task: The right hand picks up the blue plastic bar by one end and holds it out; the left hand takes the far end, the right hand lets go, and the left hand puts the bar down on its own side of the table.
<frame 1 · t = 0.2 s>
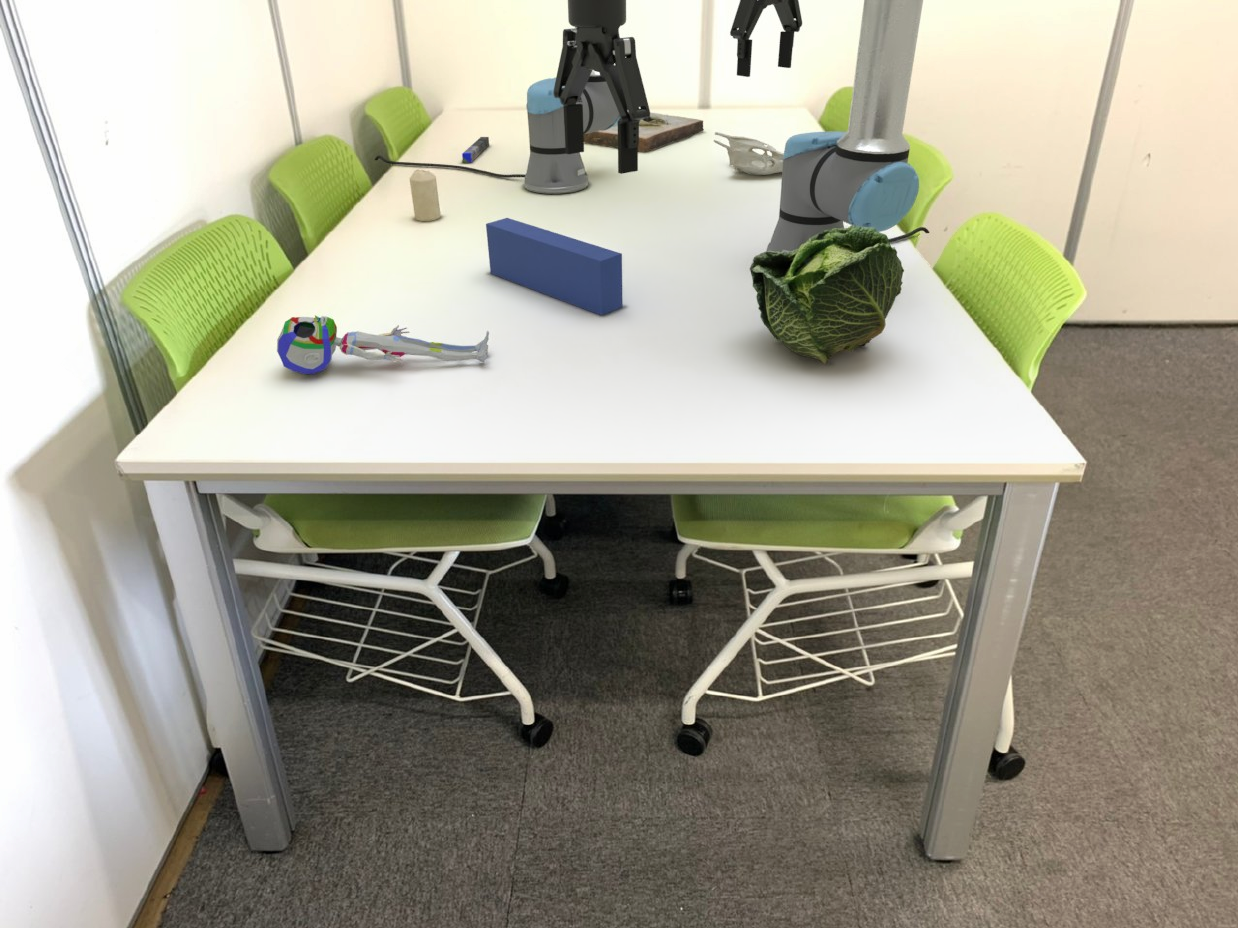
left hand: (764, 71, 179), 29 cm above the table, tool pointing down, fingers open, 13 cm apart
right hand: (600, 162, 126), 27 cm above the table, tool pointing down, fingers open, 13 cm apart
candle: (428, 218, 195), on the table
bar: (553, 289, 158), on the table
plaque: (633, 136, 259), on the table
anatomical model: (763, 173, 223), on the table
toy: (388, 365, 133), on the table
vegetable: (821, 349, 136), on the table
pillar: (476, 154, 243), on the table
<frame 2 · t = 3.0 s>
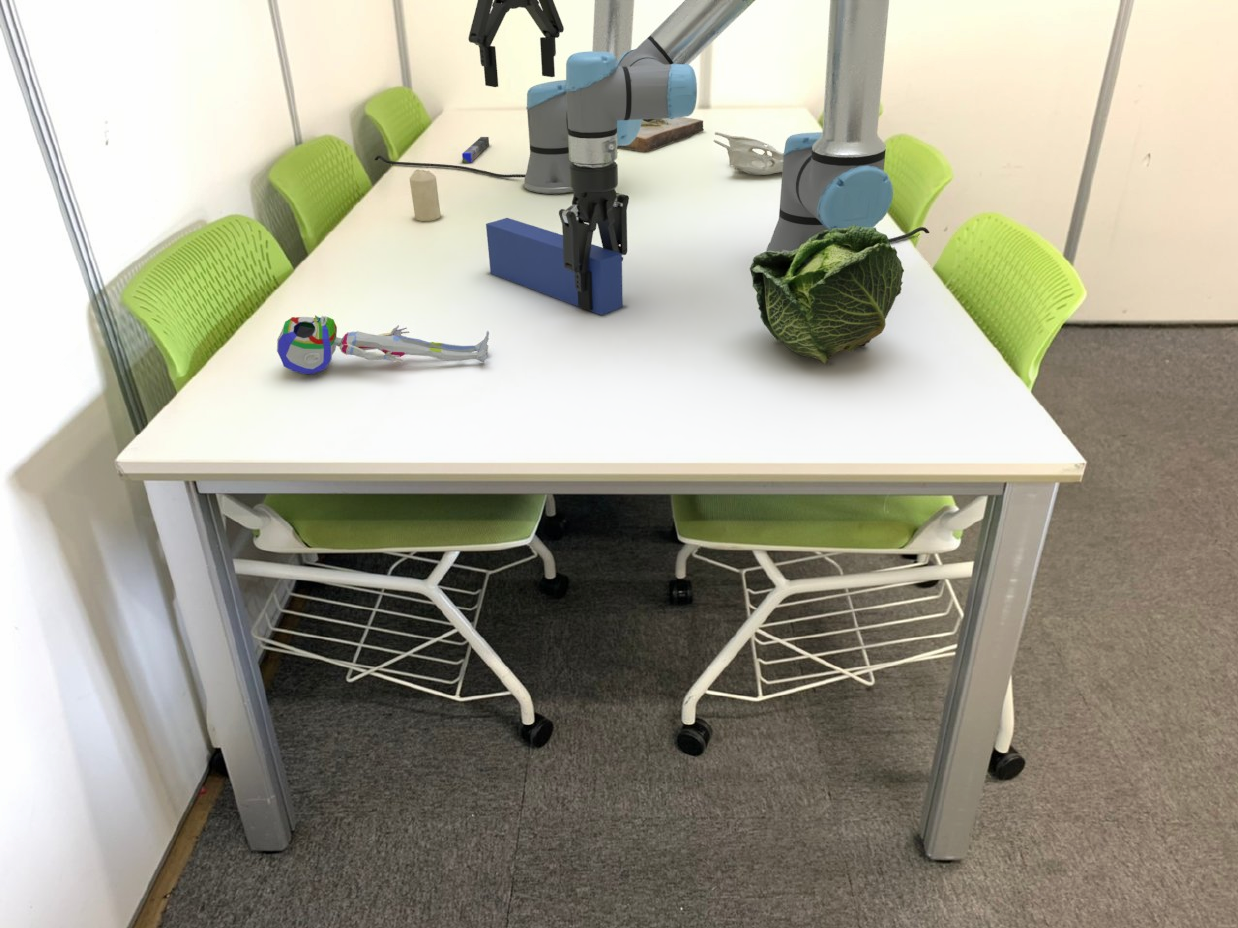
left hand: (520, 81, 163), 30 cm above the table, tool pointing down, fingers open, 13 cm apart
right hand: (597, 302, 151), 1 cm above the table, tool pointing down, fingers closed on bar, 5 cm apart
bar: (553, 289, 158), on the table, touching right hand
everything else where it was.
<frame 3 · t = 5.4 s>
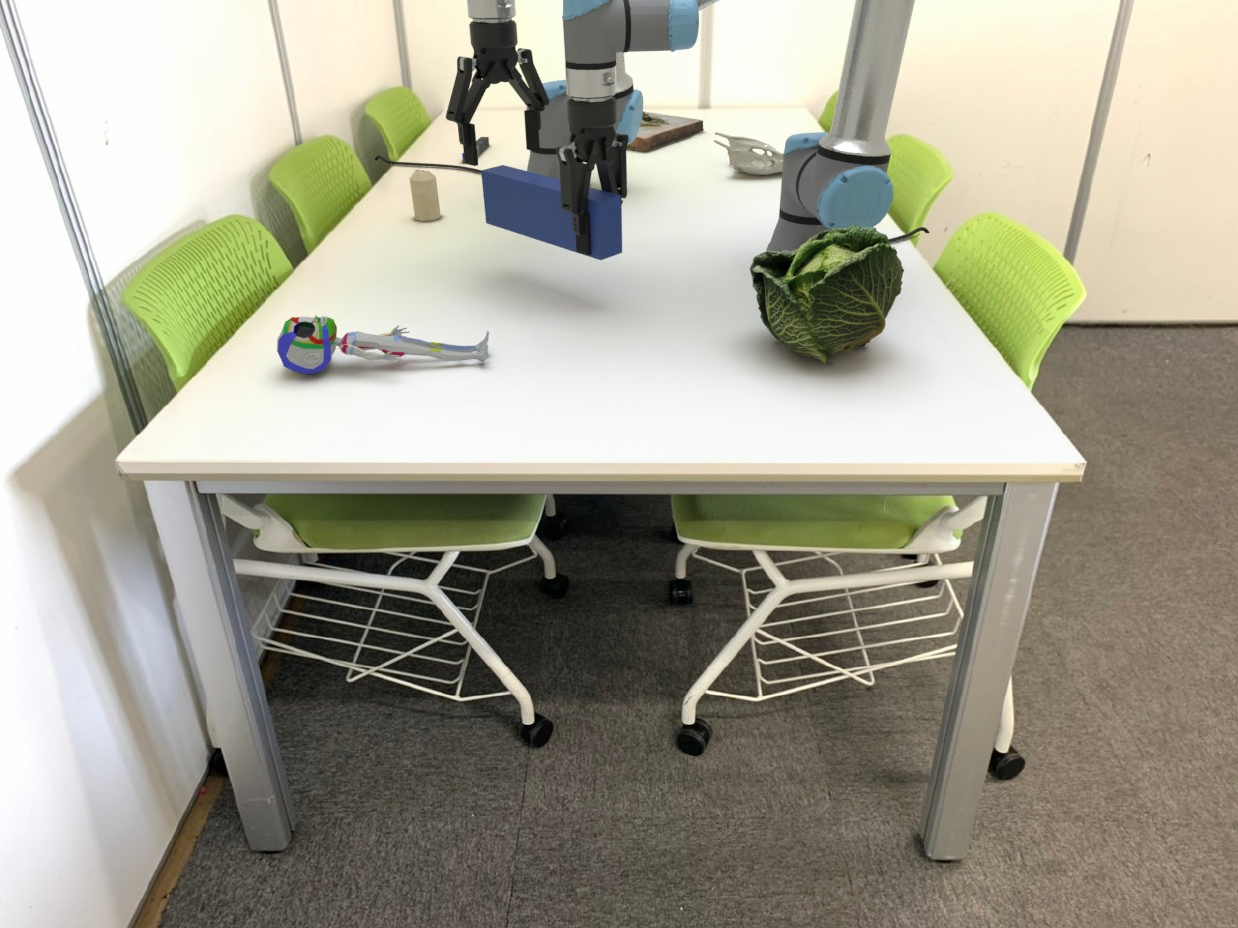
left hand: (503, 157, 154), 21 cm above the table, tool pointing down, fingers open, 13 cm apart
right hand: (596, 248, 146), 10 cm above the table, tool pointing down, fingers closed on bar, 5 cm apart
bar: (551, 237, 153), point 9 cm above the table, touching right hand
everything else where it was.
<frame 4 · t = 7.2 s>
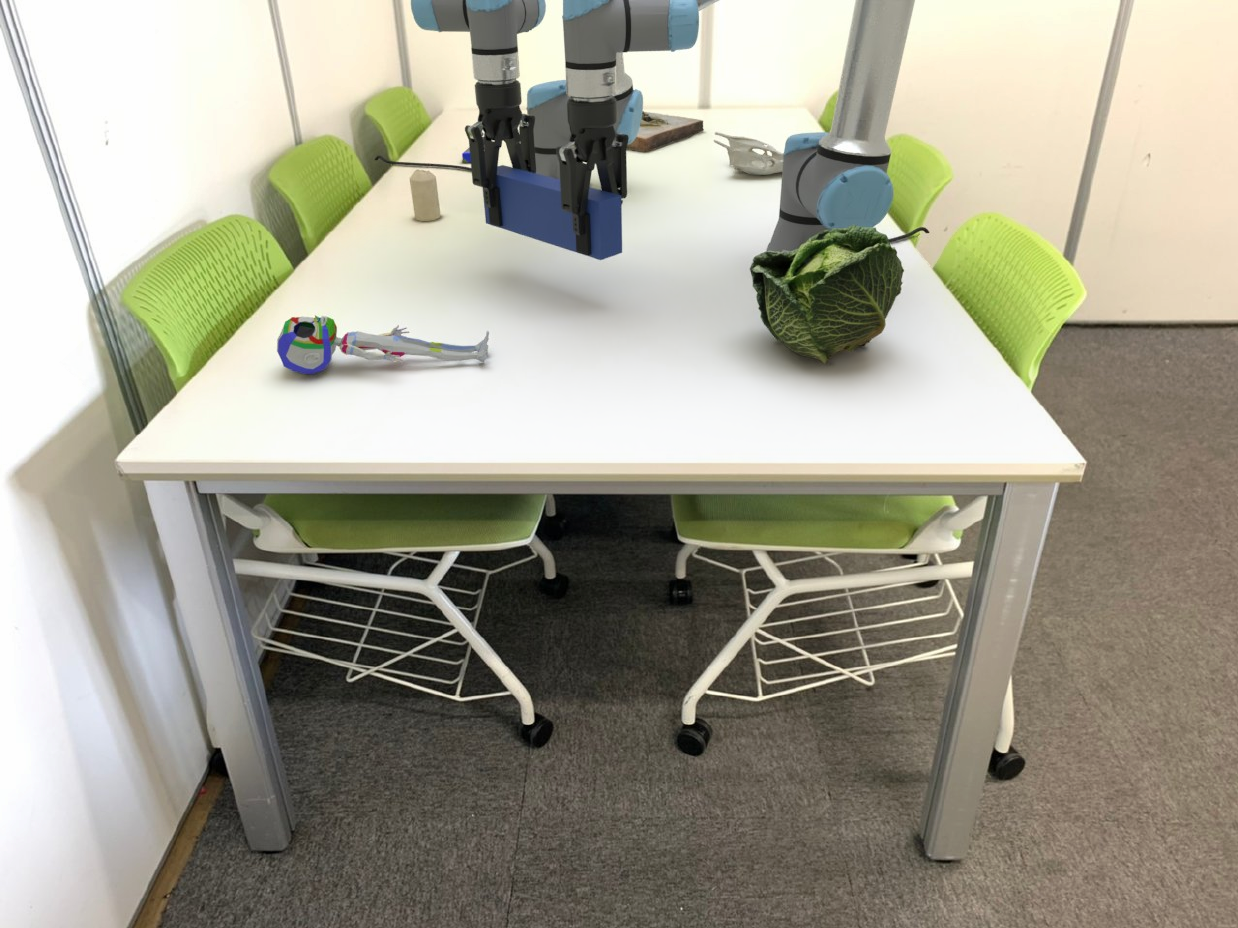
left hand: (508, 220, 159), 10 cm above the table, tool pointing down, fingers closed on bar, 5 cm apart
right hand: (596, 248, 146), 10 cm above the table, tool pointing down, fingers closed on bar, 5 cm apart
bar: (550, 237, 153), point 9 cm above the table, touching left hand, right hand
everything else where it was.
when the right hand's fingers open (10 cm above the table, at t = 7.8 s): bar stays where it is, held by the left hand.
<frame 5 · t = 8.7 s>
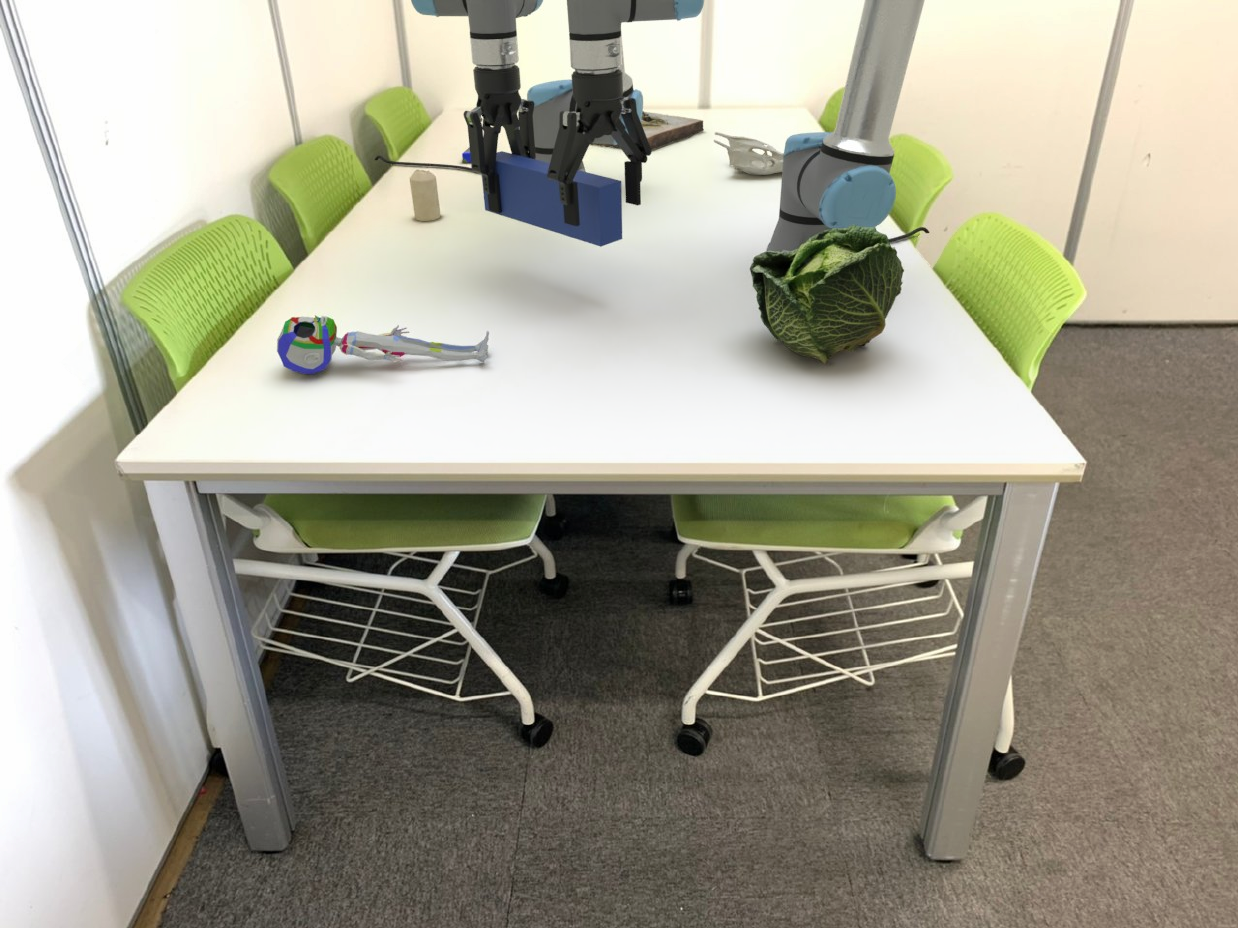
left hand: (508, 207, 158), 12 cm above the table, tool pointing down, fingers closed on bar, 5 cm apart
right hand: (603, 213, 142), 16 cm above the table, tool pointing down, fingers open, 13 cm apart
bar: (550, 224, 152), point 12 cm above the table, touching left hand
everything else where it was.
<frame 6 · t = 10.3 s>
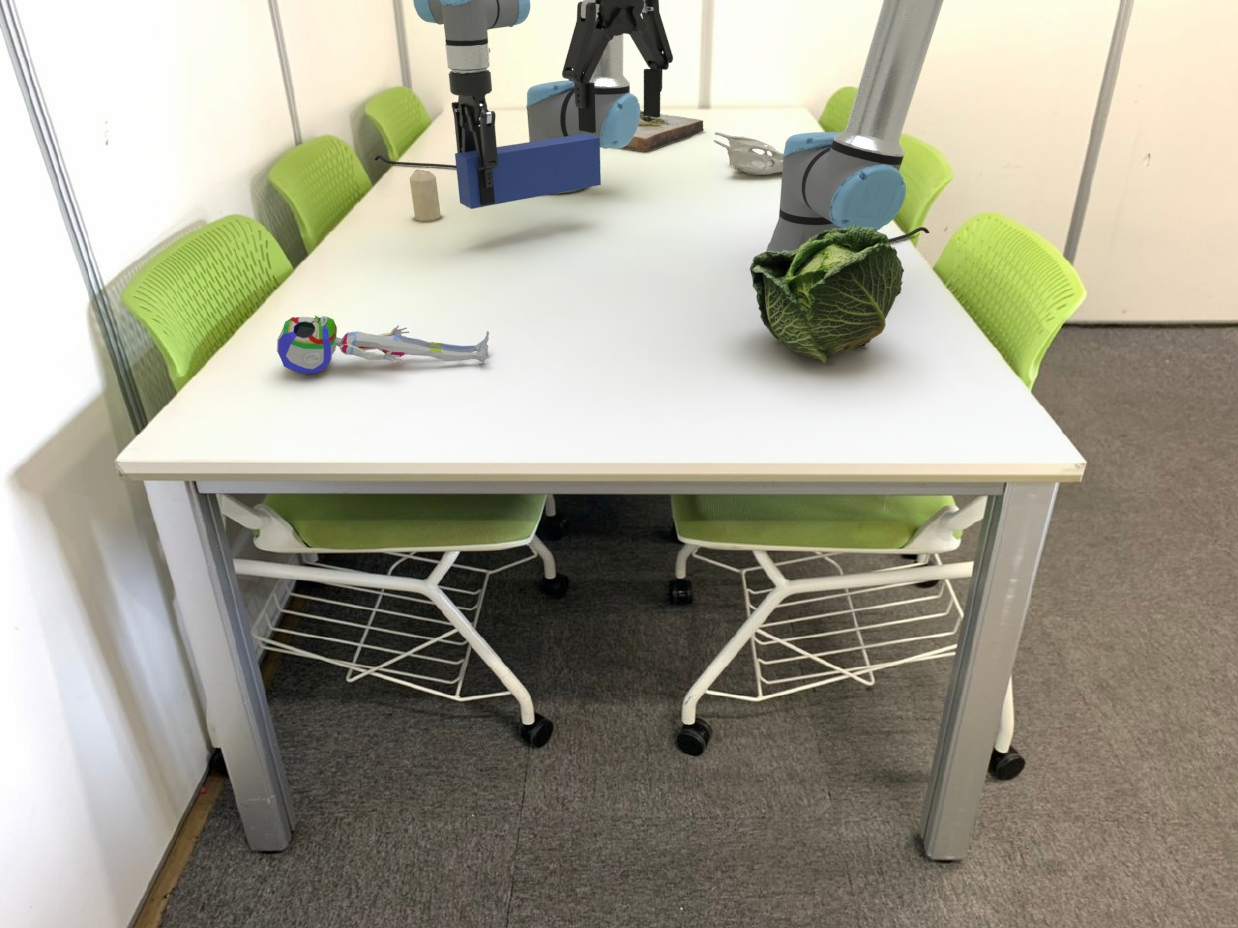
left hand: (481, 200, 173), 9 cm above the table, tool pointing down, fingers closed on bar, 5 cm apart
right hand: (620, 124, 132), 30 cm above the table, tool pointing down, fingers open, 13 cm apart
bar: (532, 193, 178), point 9 cm above the table, touching left hand
everything else where it was.
when the left hand's fingers open (2 cm above the table, at t = 11.4 s): bar drops 2 cm, on the table.
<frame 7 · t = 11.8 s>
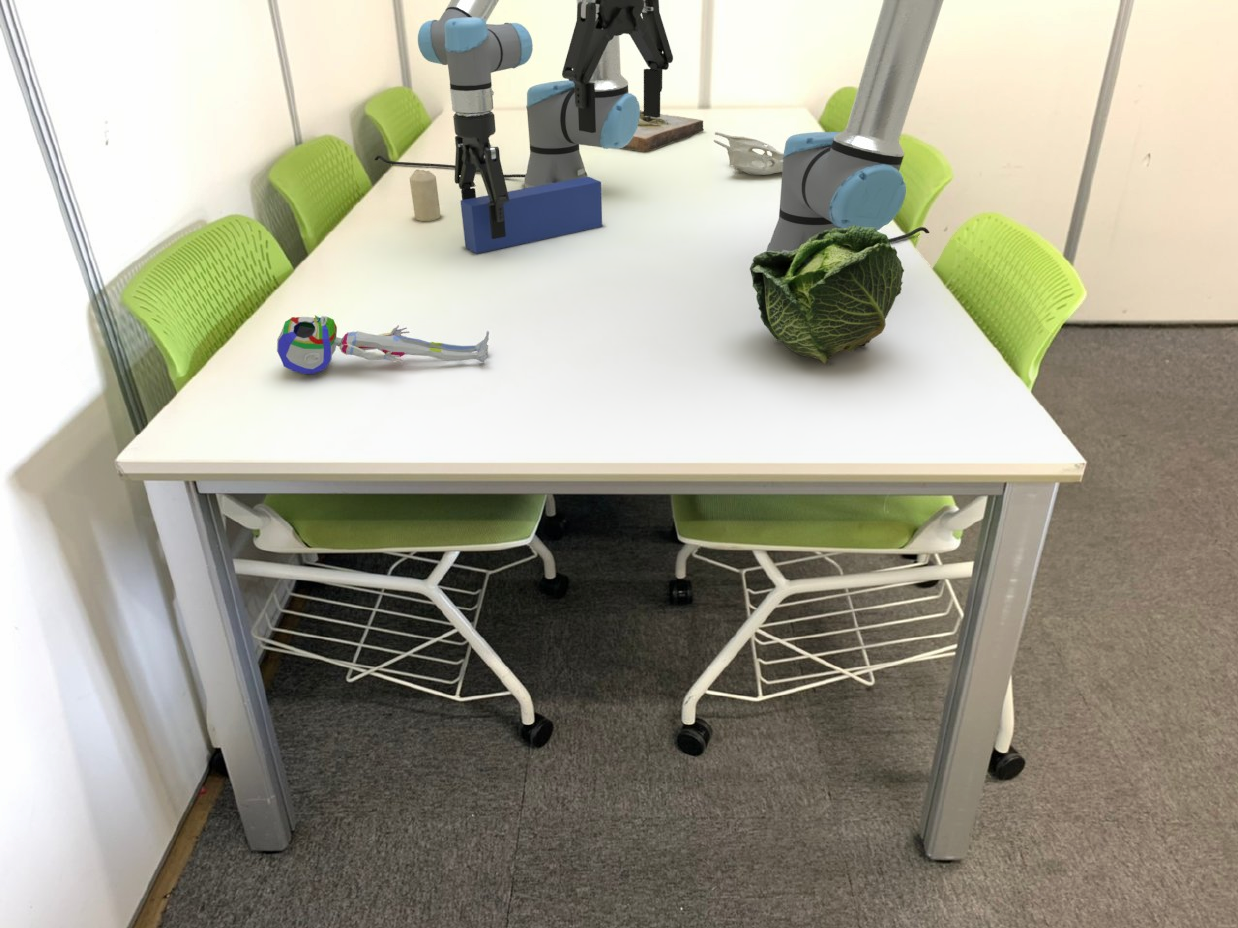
left hand: (484, 229, 176), 4 cm above the table, tool pointing down, fingers open, 11 cm apart
right hand: (620, 124, 132), 30 cm above the table, tool pointing down, fingers open, 13 cm apart
bar: (535, 236, 183), on the table
everything else where it was.
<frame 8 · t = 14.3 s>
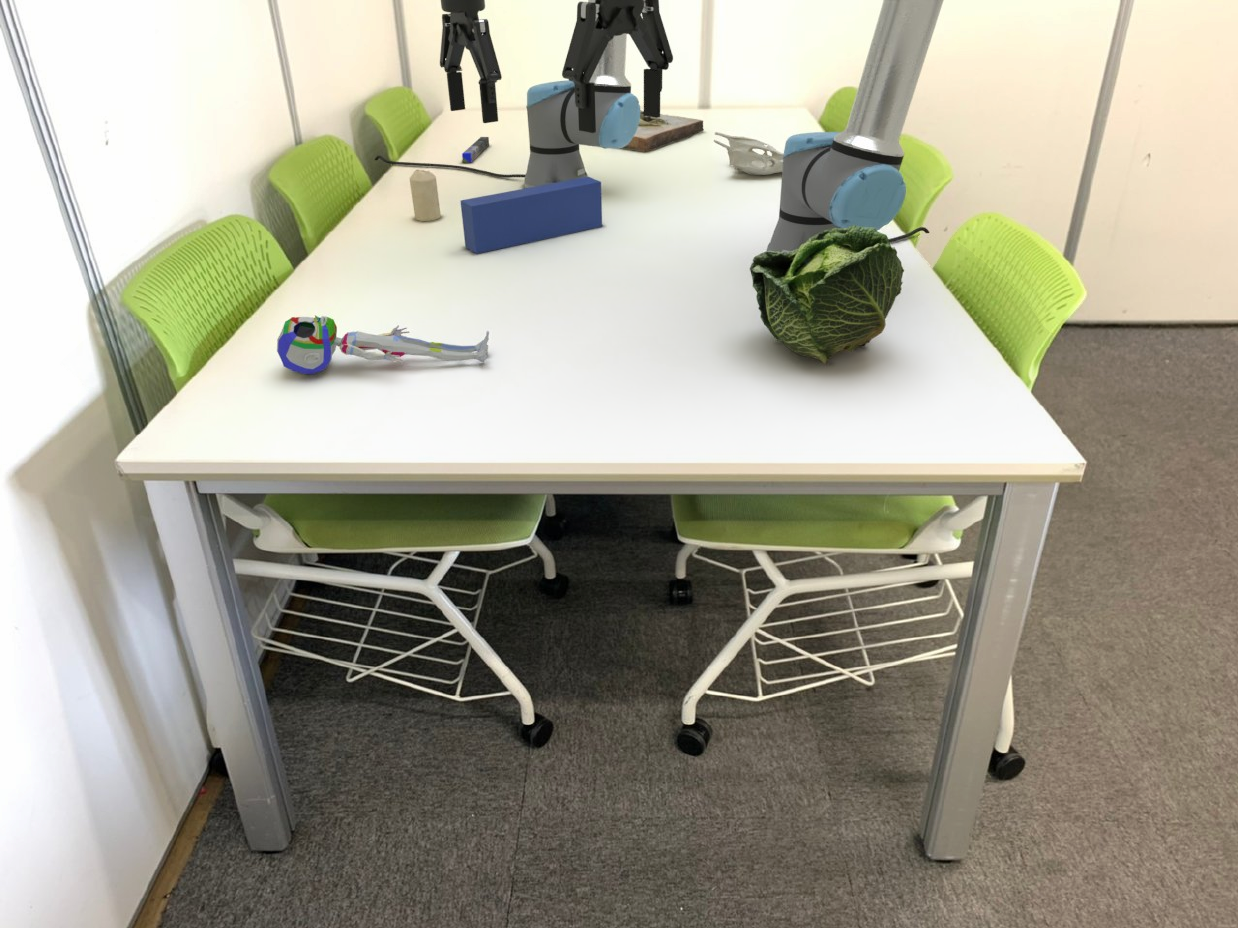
left hand: (473, 116, 165), 25 cm above the table, tool pointing down, fingers open, 13 cm apart
right hand: (620, 124, 132), 30 cm above the table, tool pointing down, fingers open, 13 cm apart
nothing on the table moved.
at the end: bar inside the target area (11.1 cm from its centre), on the table; the left hand is holding nothing; the right hand is holding nothing; bar at rest at the end (0.0 cm/s) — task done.
